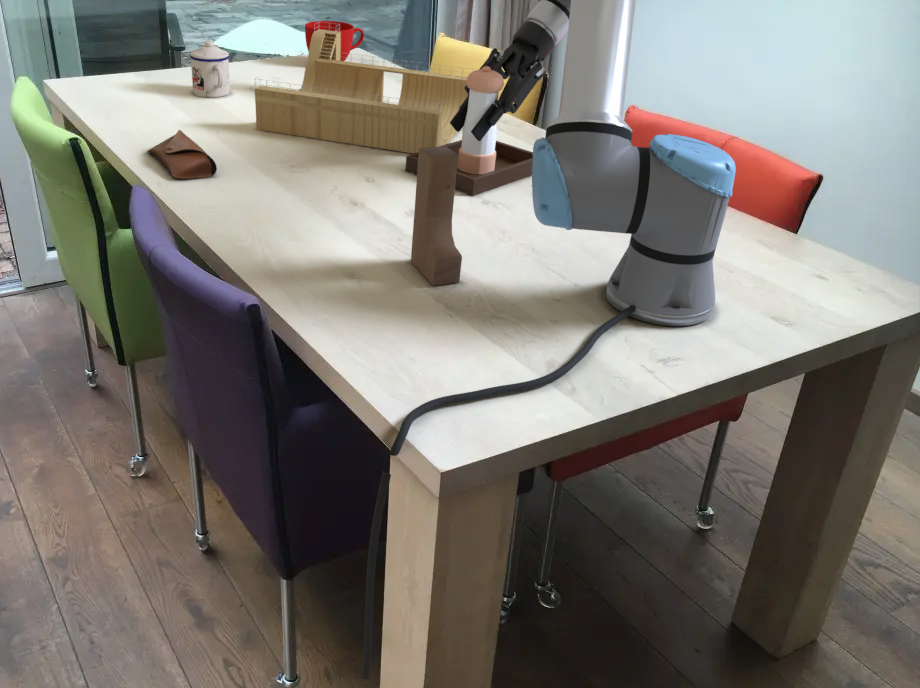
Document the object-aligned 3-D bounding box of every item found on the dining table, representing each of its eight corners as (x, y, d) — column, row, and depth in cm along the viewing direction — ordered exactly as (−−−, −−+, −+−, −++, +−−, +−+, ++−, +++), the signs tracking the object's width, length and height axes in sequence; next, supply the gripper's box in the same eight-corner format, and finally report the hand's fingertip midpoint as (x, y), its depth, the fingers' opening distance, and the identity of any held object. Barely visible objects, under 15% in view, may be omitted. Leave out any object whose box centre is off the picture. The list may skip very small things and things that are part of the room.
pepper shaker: (449, 166, 177) (458, 64, 167) (475, 159, 181) (486, 60, 171) (475, 177, 173) (487, 73, 162) (502, 170, 177) (514, 68, 166)
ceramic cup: (374, 67, 244) (375, 28, 239) (318, 72, 237) (318, 32, 231) (351, 56, 254) (352, 18, 248) (296, 61, 246) (296, 22, 241)
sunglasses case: (143, 149, 177) (158, 118, 175) (174, 163, 181) (189, 133, 180) (174, 179, 164) (189, 145, 162) (206, 193, 169) (222, 161, 167)
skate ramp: (255, 134, 193) (252, 55, 184) (318, 91, 221) (318, 21, 212) (434, 161, 183) (440, 80, 174) (477, 113, 211) (484, 41, 202)
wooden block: (460, 283, 135) (472, 165, 125) (432, 286, 133) (442, 167, 123) (436, 259, 141) (446, 145, 132) (409, 262, 140) (417, 147, 130)
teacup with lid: (187, 89, 217) (183, 38, 210) (223, 86, 221) (220, 36, 214) (203, 102, 208) (200, 49, 202) (240, 99, 212) (238, 47, 205)
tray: (472, 196, 166) (474, 179, 164) (405, 171, 175) (406, 155, 174) (543, 171, 179) (545, 156, 177) (477, 149, 189) (478, 134, 187)
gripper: (583, 57, 167) (506, 157, 167) (515, 37, 179) (443, 130, 180) (567, 29, 161) (487, 133, 162) (498, 10, 173) (424, 106, 174)
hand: (464, 131), depth 171 cm, fingers open, 6 cm apart
